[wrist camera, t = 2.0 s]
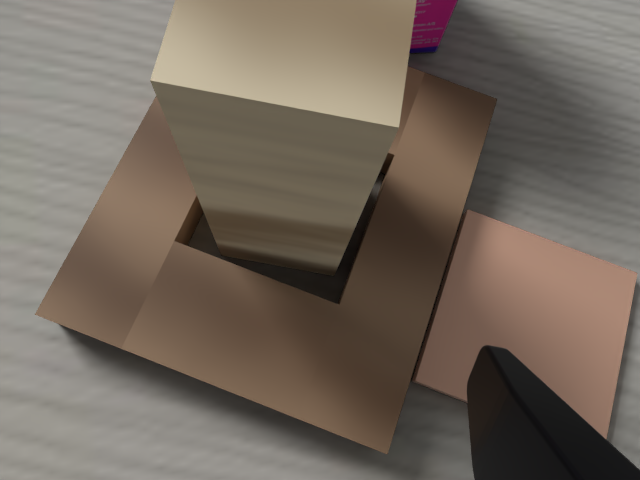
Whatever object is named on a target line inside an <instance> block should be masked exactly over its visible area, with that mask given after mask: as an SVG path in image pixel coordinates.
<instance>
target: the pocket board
mask: <svg viewBox="0 0 640 480" xmlns="http://www.w3.org/2000/svg"><path fill="white" fill-rule="evenodd" d="M496 102H497V99H496V98H493V97H491V96H488V95H485V94H482V93H480V92H477V91H474V90H471V89H469V88H466V87H463V86H461V85H458V84H455V83H452V82H450V81H447V80H444V79H441V78H439V77H436V76H433V75H431V74H428V73H425V72H422V71H420V70H417V69H414V68H412V67H409V66H407V73H406V80H405V88H404V95H403V102H402V109H401V117H400V124H399V129H398V131H397V133H396V135H395V138H394V140H393V142H392V145H391V147H390V149H389V151H388V154H387V156H386V158H385V161H384V163H383V165H382V167H381V170H380V172H381V173H384V174H385V177H384V180H383V183H382V185H381V188H380V191H379V193H378V196H377V199H376V201H375V204H374V207H373V210H372V212H371V215H370V218H369V220H368V223H367V226H366V229H365V231H364V234H363V237H362V239H361V242H360V245H359V247H358V250H357V253H356V256H355V258H354V261H353V264H352V266H351V269H350V272H349V275H348V277H347V280H346V283H345V285H344V288H343V291H342V293H341V296H340V299H339V302H338V304H336V303H333V302H331V301H328V300H326V299H323V298H320V297H318V296H315V295H313V294H310V293H308V292H305V291H302V290H300V289H297V288H295V287H292V286H289V285H287V284H284V283H282V282H279V281H277V280H274V279H271V278H269V277H266V276H264V275H261V274H258V273H256V272H253V271H251V270H248V269H246V268H243V267H240V266H238V265H235V264H233V263H230V262H228V261H225V260H222V259H220V258H217V257H215V256H212V255H209V254H207V253H204V252H202V251H199V250H197V249H194V248H191V247H189V246H187V245H188V243H189V241H190V239H191V237H192V235H193V233H194V231H195V229H196V227H197V225H198V222H199V220H200V218H201V216H202V214H203V209H202V207H201V204H200V202H199V199H198V197H197V194H196V192H195V190H194V187H193V185H192V182H191V180H190V177H189V175H188V172H187V170H186V167H185V165H184V162H183V160H182V157H181V155H180V153H179V150H178V148H177V145H176V143H175V140H174V138H173V135H172V133H171V130H170V128H169V125H168V123H167V120H166V118H165V115H164V113H163V111H162V108H161V106H160V103H159V101H158V98H157V96H156V97H155V99H154V101H153V103H152V104H151V106H150V108H149V110H148V112H147V113H146V115H145V117H144V119H143V121H142V122H141V124H140V126H139V128H138V130H137V131H136V133H135V135H134V137H133V139H132V140H131V142H130V144H129V146H128V148H127V149H126V151H125V153H124V155H123V157H122V158H121V160H120V162H119V164H118V166H117V167H116V169H115V171H114V173H113V175H112V176H111V178H110V180H109V182H108V184H107V185H106V187H105V189H104V191H103V193H102V194H101V196H100V198H99V200H98V202H97V203H96V205H95V207H94V209H93V211H92V212H91V214H90V216H89V218H88V220H87V221H86V223H85V225H84V227H83V229H82V230H81V232H80V234H79V236H78V238H77V240H76V241H75V243H74V245H73V247H72V249H71V250H70V252H69V254H68V256H67V258H66V259H65V261H64V263H63V265H62V267H61V268H60V270H59V272H58V274H57V276H56V277H55V279H54V281H53V283H52V285H51V286H50V288H49V290H48V292H47V294H46V295H45V297H44V299H43V301H42V303H41V304H40V306H39V308H38V310H37V312H36V313H35V315H38V316H40V317H43V318H45V319H48V320H50V321H53V322H55V323H58V324H60V325H63V326H65V327H68V328H70V329H73V330H75V331H78V332H80V333H83V334H85V335H88V336H90V337H93V338H95V339H98V340H100V341H103V342H105V343H108V344H111V345H113V346H116V347H118V348H121V349H123V350H126V351H128V352H131V353H133V354H136V355H138V356H141V357H143V358H146V359H148V360H151V361H153V362H156V363H158V364H161V365H163V366H166V367H168V368H171V369H173V370H176V371H178V372H181V373H183V374H186V375H189V376H191V377H194V378H196V379H199V380H201V381H204V382H206V383H209V384H211V385H214V386H216V387H219V388H221V389H224V390H226V391H229V392H231V393H234V394H236V395H239V396H241V397H244V398H246V399H249V400H251V401H254V402H256V403H259V404H261V405H264V406H267V407H269V408H272V409H274V410H277V411H279V412H282V413H284V414H287V415H289V416H292V417H294V418H297V419H299V420H302V421H304V422H307V423H309V424H312V425H314V426H317V427H319V428H322V429H324V430H327V431H329V432H332V433H334V434H337V435H340V436H342V437H345V438H347V439H350V440H352V441H355V442H357V443H360V444H362V445H365V446H367V447H370V448H372V449H375V450H377V451H380V452H382V453H385V454H388V451H389V448H390V445H391V441H392V438H393V435H394V432H395V428H396V425H397V422H398V419H399V415H400V412H401V409H402V406H403V403H404V399H405V396H406V393H407V390H408V386H409V383H410V380H411V377H412V373H413V370H414V367H415V364H416V360H417V357H418V354H419V351H420V348H421V344H422V341H423V338H424V335H425V331H426V328H427V325H428V322H429V318H430V315H431V312H432V309H433V306H434V302H435V299H436V296H437V293H438V289H439V286H440V283H441V280H442V276H443V273H444V270H445V267H446V264H447V260H448V257H449V254H450V251H451V247H452V244H453V241H454V238H455V234H456V231H457V228H458V225H459V222H460V218H461V215H462V212H463V209H464V205H465V202H466V199H467V196H468V192H469V189H470V186H471V183H472V179H473V176H474V173H475V170H476V167H477V163H478V160H479V157H480V154H481V150H482V147H483V144H484V141H485V137H486V134H487V131H488V128H489V125H490V121H491V118H492V115H493V112H494V108H495V105H496Z"/></svg>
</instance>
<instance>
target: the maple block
mask: <svg viewBox="0 0 640 480" xmlns="http://www.w3.org/2000/svg"><path fill="white" fill-rule="evenodd" d="M416 1H417V0H175V3H174V6H173V10H172V13H171V16H170V19H169V22H168V26H167V29H166V32H165V35H164V38H163V41H162V45H161V48H160V51H159V54H158V57H157V61H156V64H155V67H154V70H153V73H152V77H151V80H150V81H151V83H152V86H153V88H154V91H155V93H156V96H157V98H158V101H159V103H160V106H161V108H162V111H163V113H164V115H165V118H166V120H167V123H168V125H169V128H170V130H171V133H172V135H173V138H174V140H175V143H176V145H177V148H178V150H179V153H180V155H181V157H182V160H183V162H184V165H185V167H186V170H187V172H188V175H189V177H190V180H191V182H192V185H193V187H194V190H195V192H196V194H197V197H198V199H199V202H200V204H201V207H202V209H203V212H204V214H205V217H206V219H207V222H208V224H209V227H210V229H211V231H212V234H213V236H214V239H215V241H216V244H217V246H218V249H219V251H220V254H221V255H222V256H227V257H233V258H238V259H244V260H249V261H255V262H260V263H266V264H271V265H276V266H282V267H287V268H293V269H298V270H304V271H309V272H315V273H320V274H326V275H331V276H334V275H335V273H336V270H337V268H338V266H339V264H340V261H341V259H342V257H343V254H344V252H345V250H346V248H347V245H348V243H349V241H350V238H351V236H352V234H353V232H354V229H355V227H356V225H357V222H358V220H359V218H360V216H361V213H362V211H363V209H364V206H365V204H366V202H367V200H368V197H369V195H370V193H371V190H372V188H373V186H374V183H375V181H376V179H377V177H378V174H379V172H380V170H381V167H382V165H383V163H384V161H385V158H386V156H387V154H388V151H389V149H390V147H391V145H392V142H393V140H394V138H395V135H396V133H397V131H398V129H399V124H400V117H401V109H402V102H403V95H404V88H405V80H406V73H407V66H408V59H409V52H410V44H411V37H412V30H413V23H414V16H415V8H416Z"/></svg>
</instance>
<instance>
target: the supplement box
mask: <svg viewBox="0 0 640 480" xmlns="http://www.w3.org/2000/svg"><path fill="white" fill-rule="evenodd" d="M457 1H458V0H417V1H416V8H415V16H414V23H413V30H412V37H411V44H410V52H409V53H429V52H436V51H437V49H438V46H439V44H440V41H441V39H442V36H443V34H444V32H445V29H446V27H447V25H448V22H449V20H450V17H451V15H452V13H453V10H454V8H455V6H456V3H457Z"/></svg>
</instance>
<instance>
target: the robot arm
mask: <svg viewBox="0 0 640 480" xmlns="http://www.w3.org/2000/svg"><path fill="white" fill-rule="evenodd" d="M467 403H468V416H469V429H470V441H471V454H472V465H473V472H474V478H475V480H640V470H639V469H638V468H637V467H636V466H635V465H634V464H633V463H631V462H630V461H629V460H628V459H627V458H626V457H625V456H624V455H623V454H622V453H620V452H619V451H618V450H617V449H616V448H615V447H614V446H613V445H612V444H611V443H610V442H608V441H607V440H606V439H605V438H604V437H603V436H602V435H601V434H600V433H599V432H598V431H596V430H595V429H594V428H593V427H592V426H591V425H590V424H589V423H588V422H587V421H586V420H584V419H583V418H582V417H581V416H580V415H579V414H578V413H577V412H576V411H575V410H573V409H572V408H571V407H570V406H569V405H568V404H567V403H566V402H565V401H564V400H563V399H561V398H560V397H559V396H558V395H557V394H556V393H555V392H554V391H553V390H552V389H551V388H549V387H548V386H547V385H546V384H545V383H544V382H543V381H542V380H541V379H540V378H538V377H537V376H536V375H535V374H534V373H533V372H532V371H531V370H530V369H529V368H528V367H526V366H525V365H524V364H523V363H522V362H521V361H520V360H519V359H518V358H517V357H516V356H514V355H513V354H512V353H511V352H510V351H509V350H508V349H506V348H502V347H496V346H491V345H485V346H483V347H482V348H481V349H480V351H479V353H478V356H477V358H476V361H475V363H474V366H473V368H472V371H471V373H470V376H469V378H468V382H467Z"/></svg>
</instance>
